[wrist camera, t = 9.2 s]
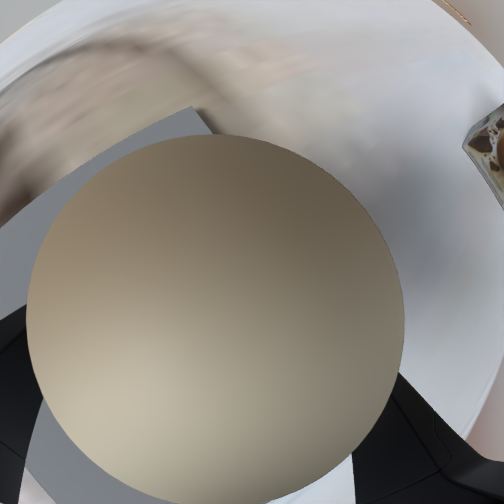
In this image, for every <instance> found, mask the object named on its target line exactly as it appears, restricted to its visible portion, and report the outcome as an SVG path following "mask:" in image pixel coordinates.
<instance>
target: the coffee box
mask: <svg viewBox="0 0 504 504" xmlns="http://www.w3.org/2000/svg"><path fill="white" fill-rule="evenodd" d="M463 148H464V150H465V151H466V152H467V154H468V155H469V156H470V158H471V159H472V161H473V162H474V163H475V165H476V166H477V168H478V169H479V171H480V172H481V174H482V175H483V177H484V178H485V180H486V181H487V183H488V184H489V186H490V188H491V189H492V191H493V193H494V194H495V196H496V198H497V199H498V201H499V203H500V204H501V206H502V208H503V210H504V104H502V105H501V106H500V107H498V108H497V109H496V110H494V111H493V112H492V113H490V114H489V115H488V116H486V117H485V118H484V119H482V120H481V121H480V122H478V123H477V124H476V125H474V126H473V127H472V128H471V130H470V132H469V134H468V136H467V138H466V140H465V142H464V144H463Z"/></svg>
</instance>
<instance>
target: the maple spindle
mask: <svg viewBox="0 0 504 504" xmlns="http://www.w3.org/2000/svg"><path fill="white" fill-rule="evenodd" d="M404 319H405V317H404V306H403V297H402V291H401V286H400V282H399V278H398V273H397V270H396V267H395V264H394V262H393V259H392V256H391V253H390V251H389V248H388V246H387V244H386V242H385V240H384V239H383V237H382V235H381V233H380V231H379V229H378V227H377V226H376V224H375V223H374V221H373V220H372V218H371V217H370V215H369V214H368V213H367V211H366V210H365V208H364V207H363V206H362V205H361V204H360V203H359V201H358V200H357V199H356V198H355V197H354V196H353V195H352V194H351V192H350V191H349V190H348V189H346V188H345V187H344V186H343V185H342V184H341V183H340V182H339V181H337V180H336V179H335V178H334V177H333V176H332V175H330V174H329V173H328V172H326V171H325V170H323V169H322V168H320V167H319V166H317V165H316V164H314V163H313V162H311V161H309V160H308V159H306V158H304V157H302V156H300V155H298V154H296V153H294V152H292V151H290V150H287V149H285V148H282V147H279V146H277V145H274V144H271V143H268V142H265V141H260V140H256V139H252V138H247V137H242V136H233V135H222V134H207V135H191V136H184V137H178V138H172V139H168V140H164V141H161V142H157V143H154V144H151V145H148V146H145V147H143V148H140V149H138V150H136V151H134V152H131V153H129V154H127V155H125V156H123V157H121V158H120V159H118V160H116V161H115V162H113V163H112V164H110V165H108V166H107V167H105V168H104V169H102V170H101V171H100V172H98V173H97V174H96V175H95V176H94V177H92V178H91V179H90V180H89V181H87V182H86V183H85V184H84V185H83V186H82V187H81V188H80V189H79V190H78V191H77V192H76V193H75V194H74V196H73V197H72V198H71V199H70V200H69V201H68V202H67V203H66V205H65V206H64V207H63V209H62V210H61V212H60V213H59V215H58V216H57V217H56V219H55V220H54V222H53V223H52V225H51V227H50V229H49V231H48V233H47V235H46V237H45V239H44V241H43V243H42V245H41V247H40V250H39V252H38V255H37V258H36V261H35V264H34V267H33V270H32V275H31V279H30V284H29V290H28V296H27V311H26V326H27V339H28V347H29V352H30V357H31V361H32V366H33V370H34V373H35V376H36V379H37V381H38V384H39V387H40V389H41V392H42V394H43V396H44V398H45V400H46V402H47V404H48V406H49V408H50V410H51V412H52V413H53V415H54V417H55V419H56V420H57V421H58V423H59V424H60V426H61V427H62V428H63V430H64V431H65V433H66V434H67V435H68V437H69V438H70V439H71V440H72V441H73V442H74V443H75V445H76V446H77V447H78V448H79V449H80V450H81V451H82V452H83V453H84V454H85V455H86V456H87V457H88V458H89V459H91V460H92V461H93V462H94V463H95V464H97V465H98V466H99V467H100V468H102V469H103V470H104V471H106V472H107V473H108V474H110V475H111V476H113V477H115V478H116V479H118V480H119V481H121V482H123V483H125V484H126V485H128V486H130V487H132V488H134V489H136V490H139V491H141V492H143V493H145V494H148V495H150V496H153V497H156V498H159V499H162V500H166V501H169V502H173V503H177V504H259V503H263V502H267V501H271V500H275V499H278V498H280V497H283V496H286V495H288V494H291V493H293V492H296V491H298V490H300V489H302V488H304V487H306V486H308V485H309V484H311V483H313V482H315V481H316V480H318V479H320V478H321V477H323V476H324V475H326V474H327V473H328V472H330V471H331V470H332V469H334V468H335V467H336V466H338V465H339V464H340V463H341V462H342V461H343V460H344V459H346V458H347V457H348V456H349V455H350V454H351V453H352V452H353V451H354V450H355V449H356V448H357V447H358V446H359V444H360V443H361V442H362V441H363V439H364V438H365V437H366V436H367V434H368V433H369V432H370V430H371V429H372V428H373V426H374V424H375V423H376V421H377V420H378V418H379V416H380V415H381V413H382V411H383V409H384V408H385V405H386V403H387V401H388V399H389V396H390V394H391V392H392V389H393V387H394V384H395V381H396V377H397V374H398V370H399V367H400V363H401V357H402V350H403V343H404Z"/></svg>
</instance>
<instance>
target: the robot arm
mask: <svg viewBox="0 0 504 504" xmlns="http://www.w3.org/2000/svg"><path fill="white" fill-rule="evenodd" d="M26 311H27V304H25V305H24V306H22V307H20V308H19V309H17V310H15V311H14V312H12V313H11V314H9V315H7V316H6V317H4V318H3V319H1V320H0V503H3V504H18V501H19V494H20V488H21V482H22V477H23V471H24V467H25V462H26V457H27V453H28V449H29V445H30V441H31V437H32V433H33V430H34V426H35V423H36V420H37V416H38V413H39V410H40V407H41V404H42V401H43V398H44V396H43V394H42V392H41V389H40V387H39V384H38V381H37V379H36V376H35V373H34V370H33V366H32V361H31V357H30V352H29V347H28V339H27V326H26ZM352 463H353V474H354V486H355V500H356V504H504V462H500V461H493V460H489V459H486V458H484V457H483V456H481V455H480V454H478V453H477V452H476V451H475V450H474V449H473V448H472V447H471V446H470V445H469V444H468V443H466V442H465V441H464V440H463V439H462V438H461V437H460V436H459V435H458V434H457V433H456V432H455V431H454V430H453V429H452V428H451V427H450V426H449V425H448V424H447V423H446V422H445V421H444V420H443V419H442V418H441V417H440V416H439V415H438V414H437V412H436V411H434V409H433V408H432V407H431V406H430V405H429V404H428V403H427V402H426V401H425V400H424V398H423V397H422V396H421V395H420V394H419V393H418V392H417V391H416V390H415V389H414V388H413V387H412V386H411V384H410V383H409V382H408V381H407V380H406V379H405V378H404V377H403V376H402V375H401V374H400V373H399V372H398V374H397V377H396V381H395V384H394V387H393V389H392V392H391V394H390V396H389V399H388V401H387V403H386V405H385V408H384V409H383V411H382V413H381V415H380V416H379V418H378V420H377V421H376V423H375V424H374V426H373V428H372V429H371V430H370V432H369V433H368V434H367V436H366V437H365V438H364V439H363V441H362V442H361V443H360V444H359V446H358V447H357V448H356V449H355V450H354V451H353V452H352Z"/></svg>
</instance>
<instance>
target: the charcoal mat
mask: <svg viewBox="0 0 504 504" xmlns="http://www.w3.org/2000/svg"><path fill="white" fill-rule="evenodd" d="M207 134H213V133H212V132H211V131H210V130H209V128H208V127H207V126H206V124H205V123H204V122H203V120H202V119H201V118H200V116H199V115H198V114H197V113H196V111H195V110H194V109H193V107H192V106H191V107H188V108H186V109H184V110H182V111H179V112H177V113H175V114H173V115H171V116H169V117H167V118H165V119H162V120H160V121H158V122H156V123H154V124H152V125H150V126H148V127H147V128H145V129H143V130H141V131H139V132H137V133H135V134H133V135H132V136H130V137H128V138H126V139H124V140H123V141H121V142H119V143H117V144H116V145H114V146H112V147H110V148H109V149H107V150H105V151H104V152H102V153H100V154H99V155H97V156H96V157H94V158H92V159H91V160H89V161H88V162H86V163H85V164H83V165H82V166H80V167H79V168H77V169H76V170H74V171H73V172H71V173H70V174H68V175H67V176H65V177H64V178H63V179H61V180H60V181H58V182H57V183H56V184H54V185H53V186H51V187H50V188H49V189H47V190H46V191H45V192H44V193H42V194H41V195H40V196H38V197H37V198H36V199H35V200H33V201H32V202H31V203H30V204H28V205H27V206H26V207H25V208H23V209H22V210H21V211H20V212H19V213H17V214H16V215H15V216H14V217H13V218H12V219H11V220H9V221H8V222H7V223H6V224H5V225H4V226H3V227H2V228H1V229H0V320H1V319H3V318H4V317H6V316H7V315H9V314H11V313H12V312H14V311H15V310H17V309H19V308H20V307H22V306H24V305H25V304H27V296H28V290H29V284H30V279H31V275H32V270H33V267H34V264H35V261H36V258H37V255H38V252H39V250H40V247H41V245H42V243H43V241H44V239H45V237H46V235H47V233H48V231H49V229H50V227H51V225H52V223H53V222H54V220H55V219H56V217H57V216H58V215H59V213H60V212H61V210H62V209H63V207H64V206H65V205H66V203H67V202H68V201H69V200H70V199H71V198H72V197H73V196H74V194H75V193H76V192H77V191H78V190H79V189H80V188H81V187H82V186H83V185H84V184H85V183H86V182H87V181H89V180H90V179H91V178H92V177H94V176H95V175H96V174H97V173H98V172H100V171H101V170H102V169H104V168H105V167H107V166H108V165H110V164H112V163H113V162H115V161H116V160H118V159H120V158H121V157H123V156H125V155H127V154H129V153H131V152H134V151H136V150H138V149H140V148H143V147H145V146H148V145H151V144H154V143H157V142H161V141H164V140H168V139H172V138H178V137H184V136H191V135H207ZM25 467H26V468H27V470H28V471H29V472H30V473H31V475H32V476H33V477H34V478H35V480H36V481H37V482H38V483H39V484H40V486H41V487H42V488H43V489H44V490H45V491H46V492H47V494H48V495H49V496H50V497H51V498H52V499H53V500H54V501H55V502H56V503H57V504H177V503H173V502H169V501H166V500H162V499H159V498H156V497H153V496H150V495H148V494H145V493H143V492H141V491H139V490H136V489H134V488H132V487H130V486H128V485H126V484H125V483H123V482H121V481H119V480H118V479H116V478H115V477H113V476H111V475H110V474H108V473H107V472H106V471H104V470H103V469H102V468H100V467H99V466H98V465H97V464H95V463H94V462H93V461H92V460H91V459H89V458H88V457H87V456H86V455H85V454H84V453H83V452H82V451H81V450H80V449H79V448H78V447H77V446H76V445H75V443H74V442H73V441H72V440H71V439H70V438H69V437H68V435H67V434H66V433H65V431H64V430H63V428H62V427H61V426H60V424H59V423H58V421H57V420H56V419H55V417H54V415H53V413H52V412H51V410H50V408H49V406H48V404H47V402H46V400H45V398H43V401H42V404H41V407H40V410H39V413H38V416H37V420H36V423H35V426H34V430H33V433H32V437H31V441H30V445H29V449H28V453H27V457H26V462H25ZM268 502H270V501H267V502H263V503H259V504H266V503H268Z"/></svg>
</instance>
